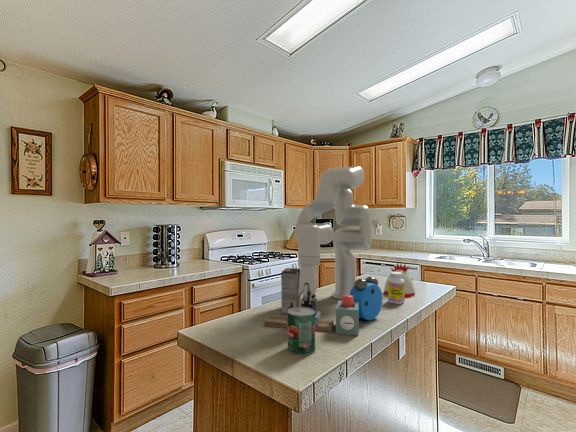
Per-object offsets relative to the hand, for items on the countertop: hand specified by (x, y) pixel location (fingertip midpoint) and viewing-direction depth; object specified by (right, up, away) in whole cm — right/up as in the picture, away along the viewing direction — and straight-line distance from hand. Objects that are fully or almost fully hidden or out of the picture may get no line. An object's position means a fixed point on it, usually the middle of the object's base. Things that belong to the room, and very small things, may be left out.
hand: (309, 311), depth 106 cm
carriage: (0, -3, 0) cm, 3 cm away
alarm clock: (+21, -5, +7) cm, 23 cm away
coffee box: (-6, -5, +18) cm, 20 cm away
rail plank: (-3, -5, +1) cm, 6 cm away
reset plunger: (+13, +1, -3) cm, 13 cm away
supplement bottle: (+40, -5, +28) cm, 49 cm away
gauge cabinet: (+13, -5, -3) cm, 14 cm away
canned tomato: (-4, -5, -19) cm, 20 cm away
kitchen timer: (+47, -5, +43) cm, 64 cm away
